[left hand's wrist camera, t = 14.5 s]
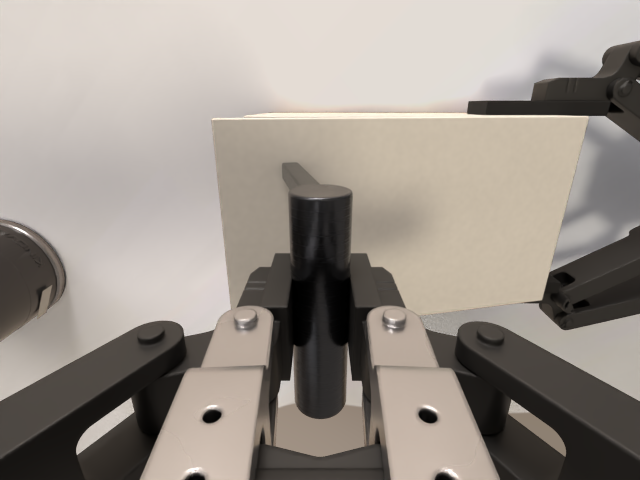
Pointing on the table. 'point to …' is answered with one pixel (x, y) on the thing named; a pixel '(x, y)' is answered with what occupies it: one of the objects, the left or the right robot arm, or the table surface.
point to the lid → (391, 217)
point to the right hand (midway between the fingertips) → (462, 200)
